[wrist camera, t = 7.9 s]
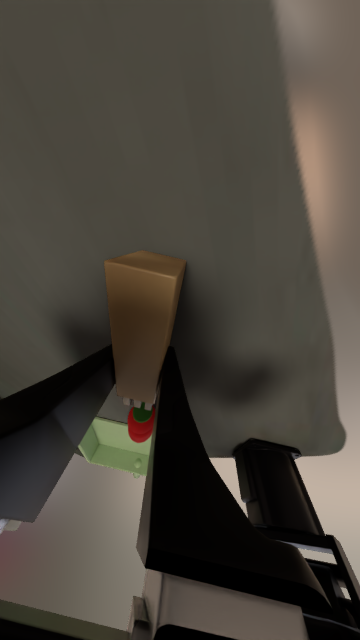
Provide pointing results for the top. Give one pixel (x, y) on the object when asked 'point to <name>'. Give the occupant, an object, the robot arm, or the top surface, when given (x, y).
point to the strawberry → (140, 423)
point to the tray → (116, 437)
